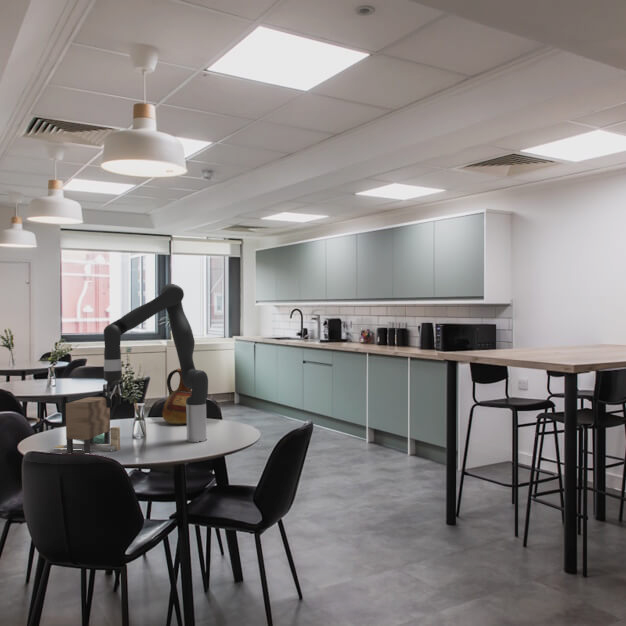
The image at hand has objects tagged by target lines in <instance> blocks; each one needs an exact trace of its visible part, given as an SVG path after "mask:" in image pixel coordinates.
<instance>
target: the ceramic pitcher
mask: <svg viewBox="0 0 626 626" xmlns="http://www.w3.org/2000/svg"><path fill="white" fill-rule="evenodd" d="M176 373H178V375H179V384H178V387H177V389H176V390H173V389H172V386H171V381H172V378H173V375H175V374H176ZM166 386H167V390H168V397H167V399H166V400H165V402H164V404H163V407H162V413H161V414H162V415H161V416H162V418H163V420H164V421H165V422H166V423H169V424H170V425H171V424H172V425H185V424H186V425H187V413H186V399H187V398H188V397H190V396H191V393H192V389H189V388H187V387H185V385H184V383H183V380H182V375H181V368H178V367H177V369H176V368H175V369H173V370H172V371H171V372H169V374H168V376H167V379H166Z"/></svg>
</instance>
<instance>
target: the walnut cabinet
mask: <svg viewBox="0 0 626 626" xmlns="http://www.w3.org/2000/svg"><path fill="white" fill-rule="evenodd" d="M110 409H111V408H107V407H106V399H105V398H103V396H89V397H84V398H81V399H77V400H73V401H70V402H66V403H65V434H66V435H65V436H66V445H67V450H66V454H67V453H72V452H73V453H74V451H73V443H74V440H79V441H81V440H82V441H83V444H84V451H83V454H84V453H90V454H91V451H90V444H95V442H94V437H96V436H98V435H101V434H104V444H111V440H110V428H111V413H110V412H111V410H110Z"/></svg>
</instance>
